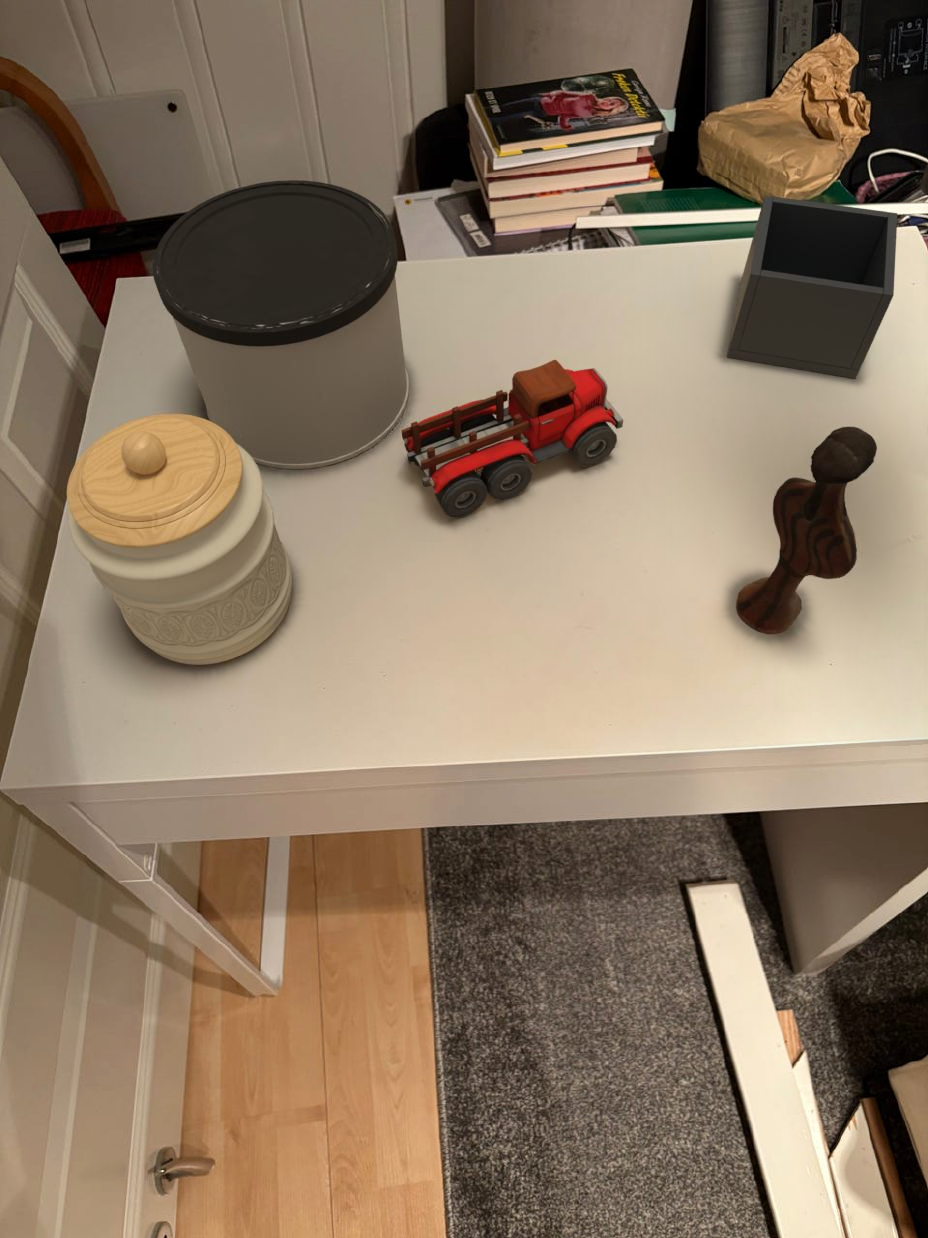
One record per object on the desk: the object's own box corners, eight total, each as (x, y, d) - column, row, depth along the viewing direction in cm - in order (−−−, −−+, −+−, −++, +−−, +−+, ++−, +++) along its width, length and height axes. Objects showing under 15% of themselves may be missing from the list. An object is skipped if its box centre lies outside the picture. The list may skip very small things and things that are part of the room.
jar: (119, 676, 66) (9, 529, 51) (140, 538, 73) (48, 372, 58) (293, 662, 66) (235, 512, 51) (298, 525, 73) (248, 358, 58)
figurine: (830, 632, 66) (932, 469, 51) (777, 661, 65) (865, 503, 50) (766, 562, 70) (843, 391, 54) (715, 589, 68) (779, 420, 53)
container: (180, 463, 77) (118, 323, 64) (234, 320, 87) (190, 173, 74) (393, 478, 75) (373, 336, 63) (424, 330, 85) (412, 182, 73)
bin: (861, 297, 86) (897, 212, 78) (855, 378, 80) (893, 295, 73) (741, 279, 88) (764, 194, 80) (726, 357, 82) (750, 273, 75)
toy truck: (625, 452, 76) (639, 380, 69) (436, 528, 72) (431, 459, 65) (579, 395, 80) (588, 321, 73) (398, 463, 76) (388, 392, 69)
